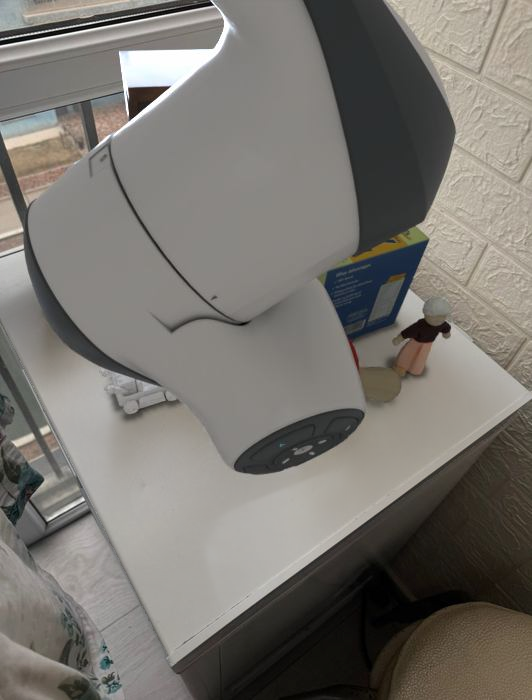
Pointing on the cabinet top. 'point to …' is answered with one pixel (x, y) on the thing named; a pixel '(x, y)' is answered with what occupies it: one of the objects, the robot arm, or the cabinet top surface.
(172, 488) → the cabinet top surface
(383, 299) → the protein box
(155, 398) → the toy car
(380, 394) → the decorative mushroom
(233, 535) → the cabinet top surface
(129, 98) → the shelf
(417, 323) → the grandmother figurine
